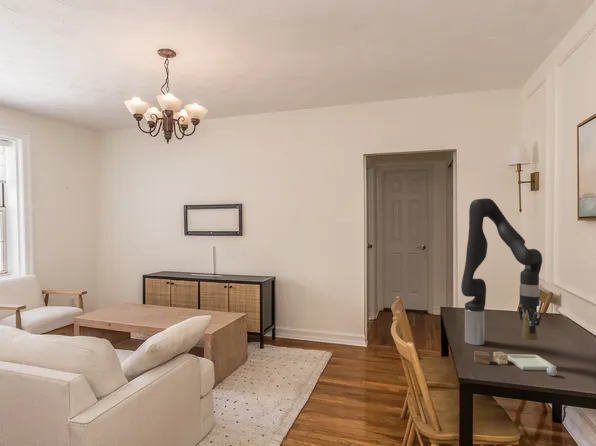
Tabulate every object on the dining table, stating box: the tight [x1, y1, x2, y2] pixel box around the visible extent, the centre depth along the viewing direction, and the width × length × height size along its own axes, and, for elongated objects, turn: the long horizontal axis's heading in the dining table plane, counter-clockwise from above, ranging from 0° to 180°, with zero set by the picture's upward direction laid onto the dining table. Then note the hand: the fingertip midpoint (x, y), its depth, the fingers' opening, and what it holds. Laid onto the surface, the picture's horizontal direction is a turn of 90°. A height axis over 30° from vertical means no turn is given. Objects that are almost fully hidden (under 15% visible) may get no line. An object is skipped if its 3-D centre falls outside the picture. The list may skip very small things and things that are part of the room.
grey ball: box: [546, 367, 558, 377], centre depth 152 cm, size 4×4×4 cm
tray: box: [507, 353, 557, 371], centre depth 164 cm, size 14×14×2 cm
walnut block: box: [473, 350, 491, 365], centre depth 167 cm, size 4×6×4 cm, turn 69°
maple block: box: [493, 351, 509, 365], centre depth 167 cm, size 4×4×4 cm
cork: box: [521, 313, 538, 341], centre depth 164 cm, size 6×6×11 cm
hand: (529, 332), depth 164 cm, fingers closed on cork, 3 cm apart
